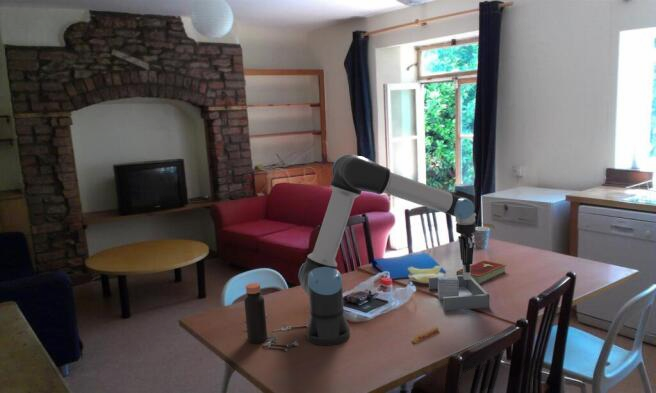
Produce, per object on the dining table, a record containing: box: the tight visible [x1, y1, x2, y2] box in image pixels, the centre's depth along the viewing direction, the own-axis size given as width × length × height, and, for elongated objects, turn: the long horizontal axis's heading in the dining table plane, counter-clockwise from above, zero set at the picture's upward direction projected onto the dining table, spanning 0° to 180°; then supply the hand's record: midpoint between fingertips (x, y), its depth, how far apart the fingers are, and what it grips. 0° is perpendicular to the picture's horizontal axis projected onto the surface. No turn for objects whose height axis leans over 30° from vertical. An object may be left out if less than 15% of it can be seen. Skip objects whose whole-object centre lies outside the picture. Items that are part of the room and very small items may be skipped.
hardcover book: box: [455, 260, 507, 284], centre depth 227 cm, size 12×21×4 cm, turn 129°
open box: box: [428, 275, 490, 311], centre depth 202 cm, size 24×18×5 cm
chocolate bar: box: [410, 326, 441, 344], centre depth 169 cm, size 3×12×2 cm, turn 127°
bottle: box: [244, 282, 268, 344], centre depth 173 cm, size 7×7×20 cm
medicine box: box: [437, 275, 460, 301], centre depth 201 cm, size 8×4×9 cm, turn 84°
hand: (466, 279), depth 201 cm, fingers closed
